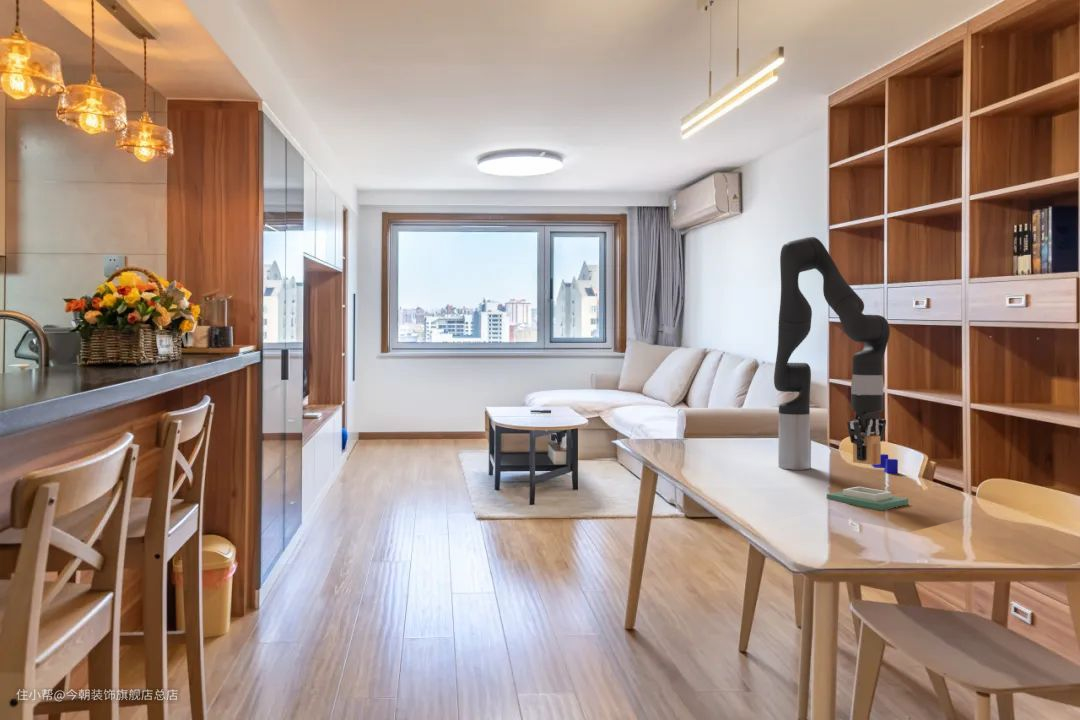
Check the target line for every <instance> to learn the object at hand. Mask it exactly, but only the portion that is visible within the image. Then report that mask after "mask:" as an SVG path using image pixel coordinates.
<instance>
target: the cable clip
mask: <svg viewBox="0 0 1080 720" xmlns="http://www.w3.org/2000/svg"><path fill="white" fill-rule="evenodd" d="M871 466H872V467H874V468H875V469H883V472H885V473H886V474H890V473H891V474H895V475H898V473H899V472H898V471H899V460H898V459H896V458H889V454H888V453H887V454H885V453H881V464H878V465H875V464H873V465H871Z"/></svg>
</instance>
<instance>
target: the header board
mask: <svg viewBox="0 0 1080 720" xmlns="http://www.w3.org/2000/svg"><path fill="white" fill-rule="evenodd" d="M826 499H828V500H831V501H836V502H840V503H844V504H848V505H850V504H852V506H855V505H857V506H856V507H860V506H861V508H866V509H872V510H877V511H885V510H891V508H892V509H895V508H894V507H896V508H899V507H898V506H901V507H903V506H902V505H905V504H908V505H909V498H905V497H901V496H900V497H899V496H893V495H892V491H887V490H881V489H876V488H869V487H864V486H855V487H854V486H853V487H848V488H843V489H842V491H837V492H831V493H827V494H826ZM905 506H906V505H905Z"/></svg>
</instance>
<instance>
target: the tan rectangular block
mask: <svg viewBox="0 0 1080 720" xmlns="http://www.w3.org/2000/svg"><path fill="white" fill-rule="evenodd" d="M854 437H855V439H856V435H854ZM861 437H862V436H861ZM862 440H863V437H862ZM881 446H882V445H881V442H880V436H879V435H878V436H874V435H870V436H869V437H867V443H866V460H865V461H861V460H857V445H855V444H854V443H852V463H857V464H864V465H870V466H872V465H873V464H875V465H878V464H881V454H882V453H881V450H882V449H881Z"/></svg>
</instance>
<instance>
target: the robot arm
mask: <svg viewBox="0 0 1080 720" xmlns="http://www.w3.org/2000/svg"><path fill="white" fill-rule="evenodd" d="M779 257H780V258H779V263H780V264H779V267H780V300H779V301H780V302H779V311H778V312H779V313H778V335H777V351H776V358H775V366H774V371H773V372H774V373H773V383H774V388H775V390H777V391H778V392H783V393H787V392H788V393H798V395H797V396H796V397H795V398H793V399H791V400H788V401H786V402H782V403H779V405H778V451H777V452H778V461H777V462H778V465H777V466H778V468H780V469H786V470H793V471H795V470H796V471H798V470H799V471H803V470H809V469H811V467H812V438H811V437H810V431H811V430H810V429H811V427H810V425H811V424H810V421H811V420H810V412H811V411H810V407H811V406H810V403H811V400H810V399H811V398H810V395H811V382H812V372H811V371H812V370H811V366H810V365H809V363H806V362H789V360H790V358H791V355H792V354H793V353H794V351H795V350H796V349H797V348H798V347H799V346H800V345H801V344H802V343H803V341H804V340H805V339H806V338H807V337H808V335H809V334H810V331H811V326H812V316H813V311H812V307H811V306H812V305H810V303H809V301H808V300H807V298H806V297H805V295H804V294H803V293H802V291H801V289H800V286H799V276H800V273H802V272H807V271H811V270H817V272H819V273H820V274H821V276H822V278H823V279H822V280H823V284H822V285H823V286H822V287H823V288H822V292H823V293H822V294H823V296H824V299H825V301H826V303H827V304H828V305H829V307H830V308H831V309H832V311H834V313H835V314H836V315H837V317H838V318H839V321H840V324H841V326H842V329H843V331H844V332H845V334H846V336H847V337H848V338H849V339H851V340H852V341H854V342H855V343H856V342H858V343H864V345H863V349H862V350H861V351H858V352H855V353H854V354H853V356H852V377H851V387H850V389H851V390H850V392H851V393H850V398H851V399H850V410H851V411H853V412H855V413H854V414H855V415H854V419H853V420H851V421H850V420H848V421H847V423H846V424H847V429H848V435H849V438H850V439H849V440H850V443H851V444H853V443H854V444H855V445H857V460H861V461H865V460H866V443H867V437H869V436H870V435H874V436H880V443H881V442H883V439H884V434H885V429H886V425H887V420H886V419H884V418H880V414H879V413H881V412H883V411H884V389H885V388H884V379H883V365H884V364H883V363H884V362H883V358H884V356H885V353H886V349H887V345H888V342H889V339H890V334H891V333H890V331H891V330H890V324H889V322H888V319H886V317H885V316H882V315H878V314H864V313H863V312H864V310H865V304H864V301H863V300H862V298H861V297H860V296H859V295H858V294H857V293H856V292H855V291H854V289H853V288H852V287H851V286H850V285H849V283H848V282H847V281H846V280H845V279H844V276H843V275H842V273H841V271H840V270H839V268H838V266H837V265H836V262H835V261H834V260H833V258H832V256H831V255H830V253H829V252H828V250H827V248H826V247H825V245H824V244H823V243H822V241H821V240H820V239H818V238H817V237H815V236H809V237H804V238H798V239H794V240H790V241H787V242H785V243H784V244H783V245H782V247H781V249H780V256H779ZM854 435H856V439H855V437H854ZM861 436H862V437H863V440H862V437H861Z"/></svg>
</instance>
